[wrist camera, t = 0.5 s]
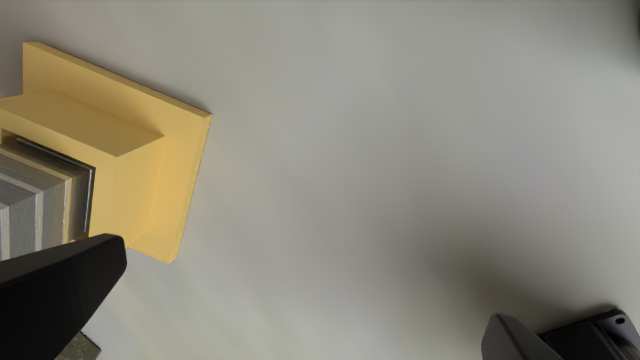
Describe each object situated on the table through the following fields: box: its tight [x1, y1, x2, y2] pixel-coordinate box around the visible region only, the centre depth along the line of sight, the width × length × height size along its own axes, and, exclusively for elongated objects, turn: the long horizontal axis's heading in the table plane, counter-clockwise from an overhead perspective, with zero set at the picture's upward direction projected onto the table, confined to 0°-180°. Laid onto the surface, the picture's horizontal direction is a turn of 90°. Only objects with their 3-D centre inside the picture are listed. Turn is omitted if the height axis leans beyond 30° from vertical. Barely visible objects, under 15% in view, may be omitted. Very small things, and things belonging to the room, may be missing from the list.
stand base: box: [0, 42, 212, 264], centre depth 20 cm, size 11×11×5 cm
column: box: [0, 137, 96, 261], centre depth 16 cm, size 4×4×12 cm
